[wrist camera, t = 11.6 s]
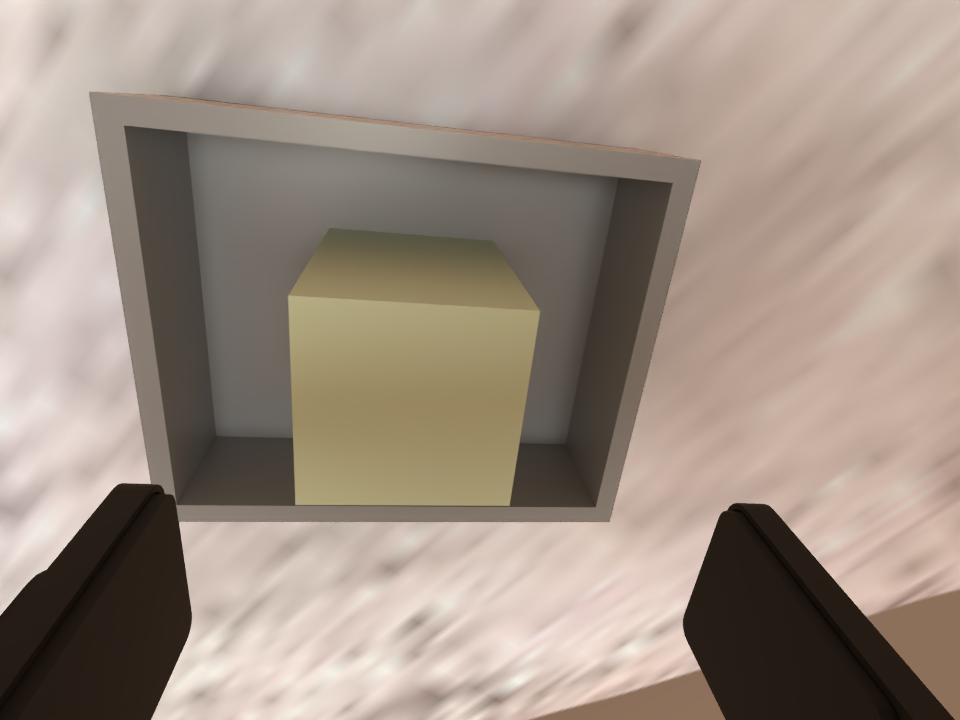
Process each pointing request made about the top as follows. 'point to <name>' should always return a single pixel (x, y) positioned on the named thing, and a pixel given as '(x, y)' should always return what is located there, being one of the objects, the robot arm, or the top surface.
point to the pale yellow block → (408, 371)
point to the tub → (382, 208)
